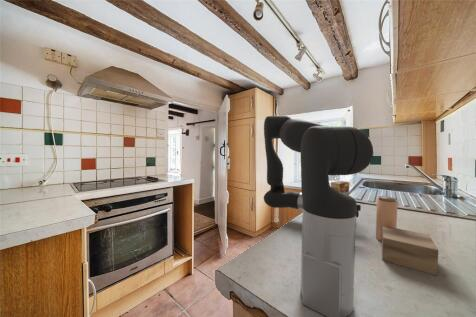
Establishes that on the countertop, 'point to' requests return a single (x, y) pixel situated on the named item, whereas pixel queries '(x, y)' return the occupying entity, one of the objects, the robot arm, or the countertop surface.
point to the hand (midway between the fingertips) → (359, 210)
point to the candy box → (341, 186)
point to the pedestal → (409, 249)
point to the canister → (385, 214)
